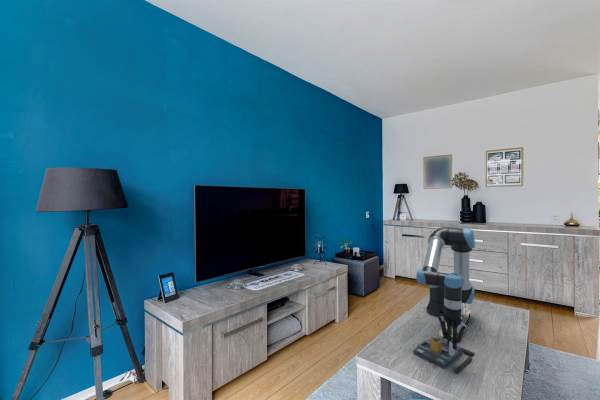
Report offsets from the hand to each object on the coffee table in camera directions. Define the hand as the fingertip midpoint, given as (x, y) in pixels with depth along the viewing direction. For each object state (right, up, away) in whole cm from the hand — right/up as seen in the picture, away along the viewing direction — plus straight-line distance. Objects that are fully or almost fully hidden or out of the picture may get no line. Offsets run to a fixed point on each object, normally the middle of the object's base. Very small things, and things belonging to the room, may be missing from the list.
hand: (451, 354), depth 137 cm
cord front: (+7, -4, +13) cm, 16 cm away
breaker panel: (-3, -4, +8) cm, 9 cm away
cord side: (+4, -4, -2) cm, 7 cm away
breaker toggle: (-5, -2, +6) cm, 8 cm away
